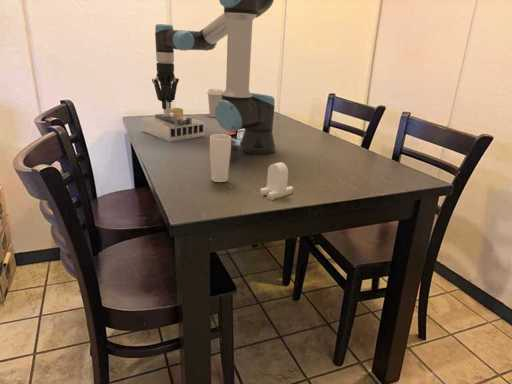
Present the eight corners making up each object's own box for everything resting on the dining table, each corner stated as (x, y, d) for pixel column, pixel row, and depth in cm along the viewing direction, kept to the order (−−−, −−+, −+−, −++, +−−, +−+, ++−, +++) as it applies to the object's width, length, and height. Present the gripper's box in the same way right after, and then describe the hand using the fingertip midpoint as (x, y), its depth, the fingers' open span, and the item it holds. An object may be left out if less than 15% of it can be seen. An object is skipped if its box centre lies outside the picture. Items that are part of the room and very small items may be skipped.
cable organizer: (259, 194, 118) (261, 163, 114) (281, 188, 124) (283, 158, 120) (271, 200, 114) (273, 168, 110) (293, 193, 121) (296, 162, 117)
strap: (188, 124, 171) (188, 120, 170) (180, 125, 168) (180, 121, 167) (162, 116, 184) (162, 112, 184) (154, 117, 182) (154, 113, 181)
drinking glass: (231, 184, 125) (233, 139, 119) (211, 185, 123) (211, 139, 117) (227, 176, 131) (228, 133, 125) (207, 177, 129) (208, 133, 123)
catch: (183, 115, 187) (183, 109, 185) (168, 117, 181) (168, 110, 180) (178, 114, 189) (178, 107, 188) (164, 116, 184) (164, 109, 183)
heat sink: (204, 136, 179) (204, 116, 176) (169, 141, 167) (168, 121, 163) (177, 126, 193) (176, 108, 190) (143, 131, 181) (142, 112, 177)
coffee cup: (209, 114, 227) (209, 88, 221) (225, 115, 226) (225, 89, 220) (205, 117, 218) (205, 90, 212) (221, 118, 217) (222, 91, 211)
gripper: (172, 61, 176) (174, 113, 185) (147, 61, 167) (149, 116, 176) (182, 63, 171) (183, 116, 180) (156, 63, 162) (158, 119, 171)
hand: (166, 116), depth 178 cm, fingers closed
